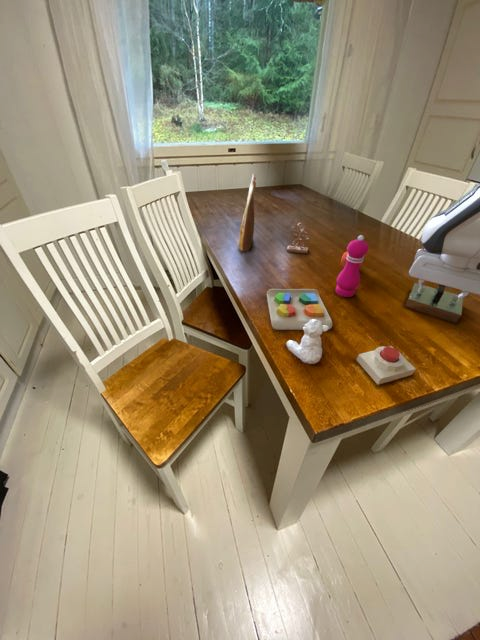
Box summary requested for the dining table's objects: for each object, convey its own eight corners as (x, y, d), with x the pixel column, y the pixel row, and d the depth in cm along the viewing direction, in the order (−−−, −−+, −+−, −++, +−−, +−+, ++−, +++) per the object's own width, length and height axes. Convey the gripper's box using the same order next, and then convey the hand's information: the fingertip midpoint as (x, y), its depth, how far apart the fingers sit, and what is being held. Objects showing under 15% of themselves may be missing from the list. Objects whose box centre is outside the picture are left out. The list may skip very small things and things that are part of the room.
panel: (458, 303, 88) (463, 295, 86) (456, 322, 81) (461, 314, 79) (411, 290, 95) (415, 282, 93) (404, 306, 87) (408, 298, 85)
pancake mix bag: (257, 237, 130) (260, 171, 113) (251, 254, 115) (255, 182, 98) (243, 236, 131) (244, 170, 113) (236, 253, 116) (236, 181, 99)
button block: (388, 351, 71) (394, 340, 68) (412, 374, 65) (419, 363, 63) (356, 360, 69) (360, 349, 66) (377, 384, 63) (383, 373, 60)
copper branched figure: (307, 249, 120) (312, 222, 112) (307, 253, 117) (312, 225, 109) (287, 247, 121) (290, 220, 114) (286, 251, 118) (290, 223, 111)
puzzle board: (317, 294, 92) (319, 285, 90) (332, 330, 77) (335, 321, 75) (266, 293, 92) (266, 284, 90) (271, 330, 77) (272, 320, 75)
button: (389, 350, 66) (392, 345, 65) (400, 361, 64) (403, 355, 63) (377, 353, 65) (379, 348, 64) (387, 364, 63) (390, 359, 62)
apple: (361, 274, 103) (368, 254, 98) (339, 272, 104) (345, 252, 99) (359, 264, 109) (365, 245, 104) (338, 262, 110) (343, 244, 105)
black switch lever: (438, 302, 83) (444, 292, 81) (432, 300, 84) (438, 290, 82) (440, 293, 87) (445, 283, 85) (434, 292, 88) (440, 282, 86)
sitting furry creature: (318, 341, 74) (328, 305, 66) (331, 365, 67) (344, 328, 60) (285, 345, 73) (290, 308, 65) (295, 369, 66) (302, 332, 58)
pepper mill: (329, 289, 94) (343, 232, 82) (345, 284, 97) (362, 229, 84) (343, 300, 89) (361, 241, 77) (360, 295, 92) (380, 237, 79)
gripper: (417, 249, 79) (399, 290, 88) (505, 269, 70) (475, 312, 79) (420, 242, 83) (403, 281, 92) (503, 260, 74) (475, 302, 83)
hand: (437, 296), depth 85 cm, fingers open, 8 cm apart
